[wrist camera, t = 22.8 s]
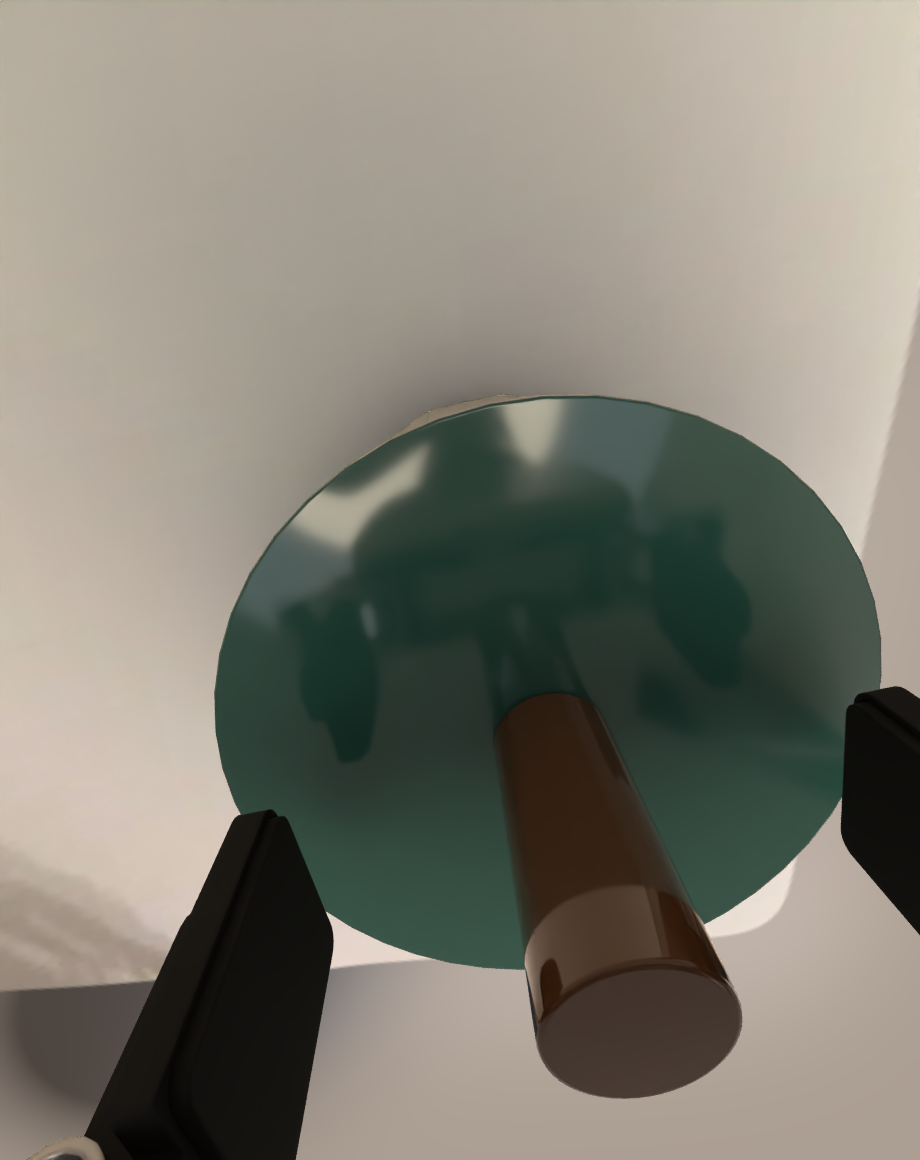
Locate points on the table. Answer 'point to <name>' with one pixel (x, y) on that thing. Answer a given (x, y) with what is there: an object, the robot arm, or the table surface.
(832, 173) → the table surface
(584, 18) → the table surface
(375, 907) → the lid
